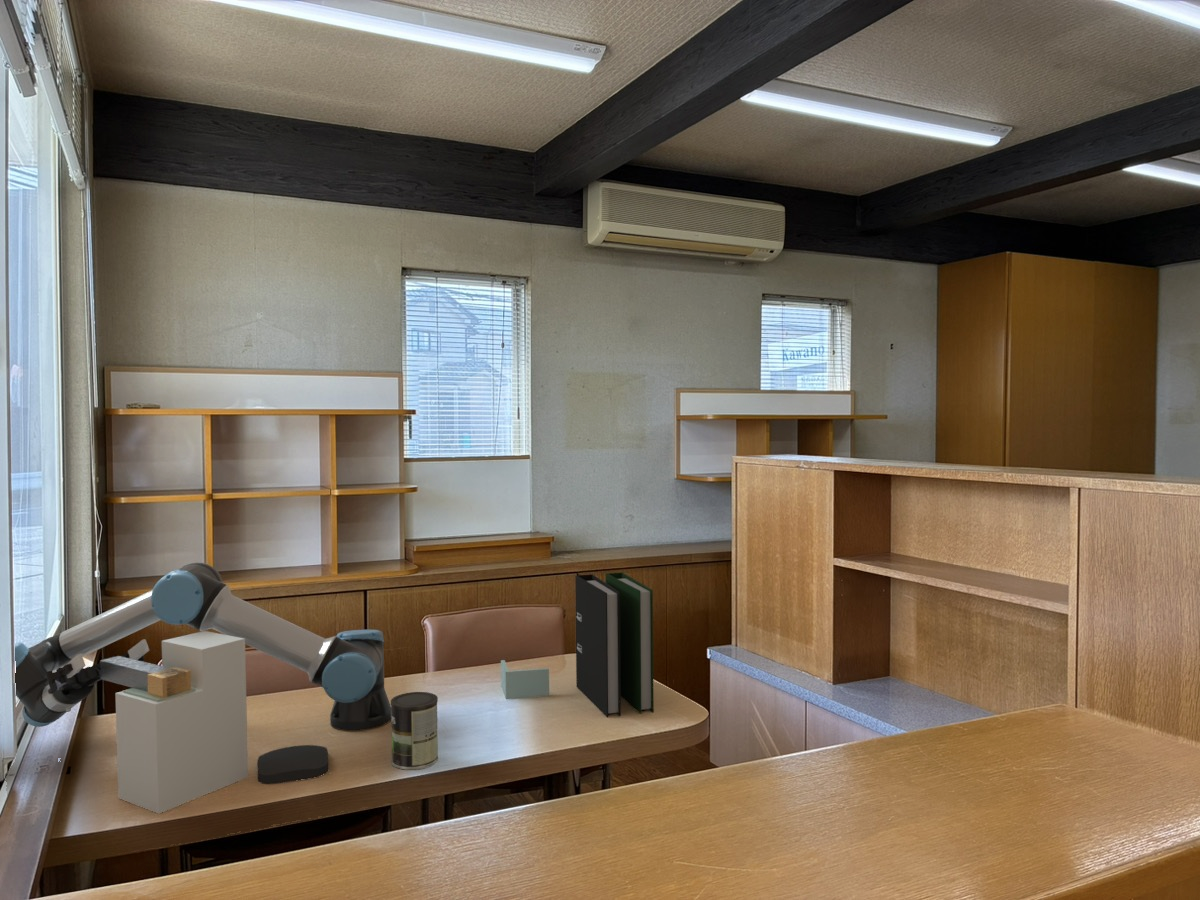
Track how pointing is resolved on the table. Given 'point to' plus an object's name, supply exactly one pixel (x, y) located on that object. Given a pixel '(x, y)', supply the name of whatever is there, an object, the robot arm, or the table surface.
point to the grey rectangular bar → (146, 676)
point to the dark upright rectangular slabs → (614, 642)
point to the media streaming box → (292, 764)
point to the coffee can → (414, 730)
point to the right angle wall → (524, 682)
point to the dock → (185, 726)
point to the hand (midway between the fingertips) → (114, 652)
